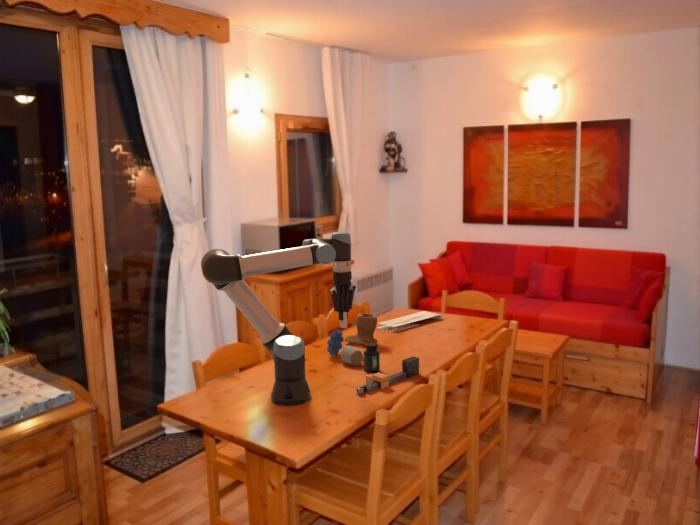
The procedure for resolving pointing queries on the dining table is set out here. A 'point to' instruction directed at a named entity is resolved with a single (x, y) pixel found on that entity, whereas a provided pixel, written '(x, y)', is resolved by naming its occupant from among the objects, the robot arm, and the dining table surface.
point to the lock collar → (378, 379)
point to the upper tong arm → (362, 388)
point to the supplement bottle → (371, 358)
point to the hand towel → (407, 321)
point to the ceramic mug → (352, 355)
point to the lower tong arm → (411, 370)
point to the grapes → (335, 342)
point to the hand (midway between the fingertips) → (343, 327)
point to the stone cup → (364, 329)
